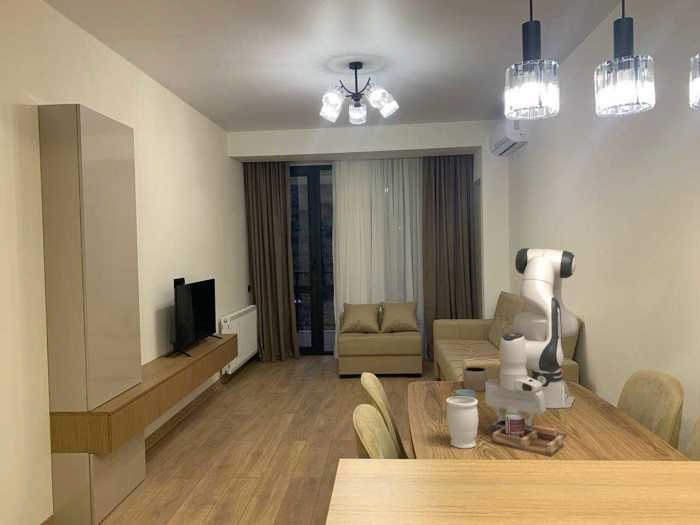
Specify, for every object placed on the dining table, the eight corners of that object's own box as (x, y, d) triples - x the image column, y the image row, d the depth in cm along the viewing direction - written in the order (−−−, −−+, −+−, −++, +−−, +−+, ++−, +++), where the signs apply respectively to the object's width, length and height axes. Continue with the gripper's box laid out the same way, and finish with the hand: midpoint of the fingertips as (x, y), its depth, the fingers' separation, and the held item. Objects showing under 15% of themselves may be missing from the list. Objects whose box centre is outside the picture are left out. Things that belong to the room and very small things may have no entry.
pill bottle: (528, 439, 175) (527, 406, 175) (516, 443, 172) (515, 409, 171) (513, 434, 180) (513, 402, 180) (501, 438, 177) (500, 405, 177)
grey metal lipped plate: (540, 431, 186) (540, 423, 186) (566, 436, 180) (566, 428, 180) (529, 439, 178) (529, 431, 178) (556, 444, 172) (555, 436, 172)
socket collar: (503, 422, 197) (503, 417, 197) (530, 428, 190) (530, 422, 190) (490, 430, 189) (490, 424, 189) (518, 435, 182) (518, 430, 182)
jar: (444, 440, 180) (442, 396, 180) (473, 438, 181) (472, 395, 181) (452, 451, 169) (451, 405, 169) (483, 449, 170) (482, 403, 170)
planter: (484, 393, 240) (483, 372, 240) (461, 390, 246) (460, 370, 246) (490, 387, 249) (490, 367, 249) (468, 385, 255) (467, 366, 255)
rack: (505, 434, 184) (505, 424, 184) (563, 446, 171) (563, 435, 171) (491, 443, 175) (491, 432, 175) (551, 456, 162) (551, 445, 162)
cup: (471, 414, 208) (470, 388, 208) (479, 420, 200) (478, 393, 200) (453, 416, 206) (452, 390, 206) (460, 422, 199) (460, 395, 199)
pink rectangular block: (536, 435, 180) (535, 424, 180) (556, 439, 176) (556, 428, 176) (533, 436, 178) (533, 426, 178) (554, 441, 174) (553, 430, 174)
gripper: (480, 379, 180) (482, 419, 180) (539, 387, 167) (541, 431, 167) (489, 376, 185) (490, 415, 185) (547, 384, 171) (548, 426, 171)
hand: (514, 422), depth 176 cm, fingers open, 8 cm apart
